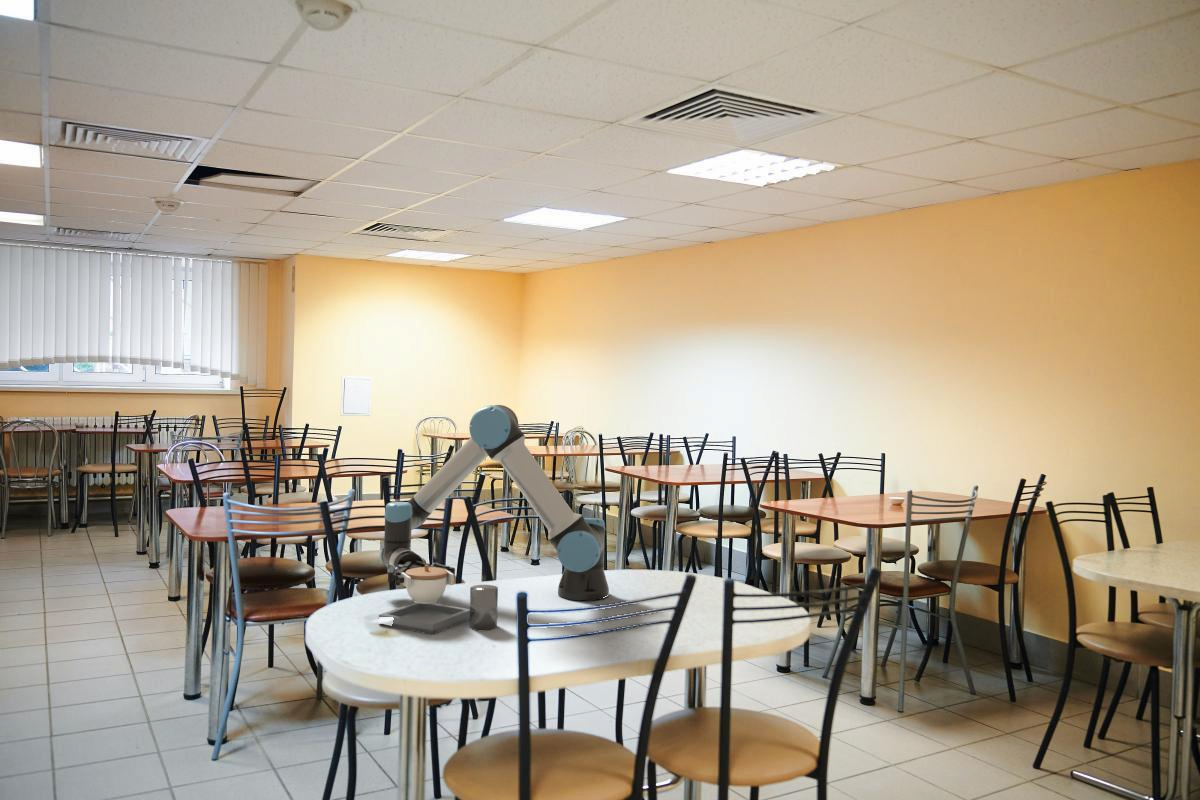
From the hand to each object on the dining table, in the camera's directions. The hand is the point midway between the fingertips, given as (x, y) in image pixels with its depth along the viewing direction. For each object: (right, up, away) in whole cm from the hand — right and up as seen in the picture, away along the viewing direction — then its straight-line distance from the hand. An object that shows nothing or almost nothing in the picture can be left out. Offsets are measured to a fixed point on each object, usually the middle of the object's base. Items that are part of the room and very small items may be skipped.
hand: (431, 581), depth 224 cm
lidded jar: (-2, -6, +4) cm, 7 cm away
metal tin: (+13, -12, +1) cm, 18 cm away
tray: (-2, -11, +4) cm, 12 cm away
